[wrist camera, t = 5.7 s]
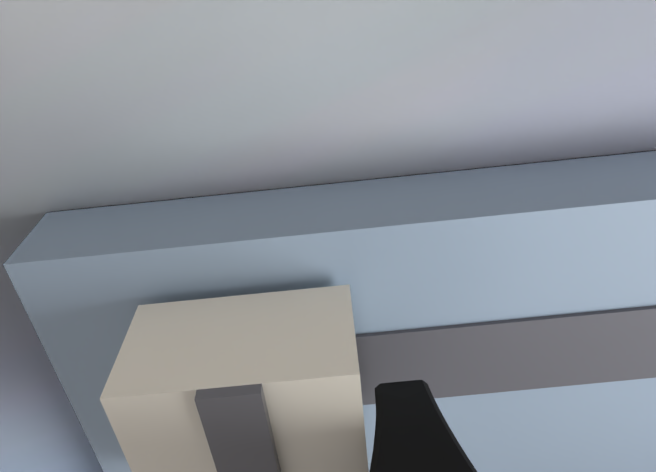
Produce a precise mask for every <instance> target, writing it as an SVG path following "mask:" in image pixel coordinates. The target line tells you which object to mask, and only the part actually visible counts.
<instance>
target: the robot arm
mask: <svg viewBox="0 0 656 472" xmlns="http://www.w3.org/2000/svg"><path fill="white" fill-rule="evenodd" d="M374 389H375V403H376V423H375V435H374V445H373V453H372V459H371V466H370V472H477V470H476V469H475V467H474V466H473V464H472V463H471V461H470V460H469V458H468V457H467V455H466V454H465V452H464V450H463V449H462V447H461V446H460V444H459V442H458V441H457V439H456V437H455V436H454V434H453V432H452V430H451V429H450V427H449V425H448V424H447V422H446V420H445V418H444V416H443V415H442V413H441V411H440V409H439V407H438V405H437V403H436V401H435V399H434V397H433V395H432V393H431V391H430V388H429V386H428V384H427V383H426V382H425V381H423V380H412V381H401V382H390V383H380V384H379V385H378V386H377V387H375V388H374Z"/></svg>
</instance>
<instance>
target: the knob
mask: <svg viewBox="0 0 656 472" xmlns="http://www.w3.org/2000/svg"><path fill="white" fill-rule="evenodd" d="M100 401H101V403H102V406H103V408H104V410H105V412H106V415H107V417H108V419H109V422H110V424H111V426H112V428H113V431H114V433H115V435H116V437H117V440H118V442H119V444H120V446H121V449H122V451H123V453H124V455H125V458H126V460H127V462H128V464H129V467H130V469H131V471H132V472H369V470H368V459H367V448H366V436H365V425H364V414H363V403H362V392H361V381H360V371H359V362H358V353H357V345H356V336H355V328H354V319H353V311H352V302H351V293H350V285H339V286H329V287H318V288H308V289H298V290H288V291H278V292H267V293H257V294H247V295H237V296H227V297H217V298H206V299H196V300H186V301H176V302H166V303H155V304H145V305H138V307H137V310H136V312H135V314H134V317H133V319H132V322H131V324H130V327H129V329H128V331H127V334H126V336H125V339H124V341H123V343H122V346H121V348H120V351H119V353H118V355H117V358H116V360H115V363H114V365H113V368H112V370H111V372H110V375H109V377H108V380H107V382H106V384H105V387H104V389H103V392H102V394H101V397H100Z"/></svg>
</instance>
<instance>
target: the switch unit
mask: <svg viewBox="0 0 656 472" xmlns="http://www.w3.org/2000/svg"><path fill="white" fill-rule="evenodd" d="M3 265H4V267H5V269H6V272H7V274H8V276H9V278H10V280H11V282H12V284H13V286H14V288H15V290H16V292H17V294H18V296H19V298H20V300H21V302H22V305H23V307H24V309H25V311H26V313H27V315H28V317H29V319H30V321H31V323H32V325H33V327H34V329H35V331H36V333H37V336H38V338H39V340H40V342H41V344H42V346H43V348H44V350H45V352H46V354H47V356H48V358H49V360H50V362H51V364H52V366H53V369H54V371H55V373H56V375H57V377H58V379H59V381H60V383H61V385H62V387H63V389H64V391H65V393H66V395H67V397H68V399H69V402H70V404H71V406H72V408H73V410H74V412H75V414H76V416H77V418H78V420H79V422H80V424H81V426H82V428H83V430H84V433H85V435H86V437H87V439H88V441H89V443H90V445H91V447H92V449H93V451H94V453H95V455H96V457H97V459H98V461H99V463H100V466H101V468H102V470H103V472H132V471H131V469H130V467H129V464H128V462H127V460H126V458H125V455H124V453H123V451H122V449H121V446H120V444H119V442H118V440H117V437H116V435H115V433H114V431H113V428H112V426H111V424H110V422H109V419H108V417H107V415H106V412H105V410H104V408H103V406H102V403H101V401H100V397H101V394H102V392H103V389H104V387H105V384H106V382H107V380H108V377H109V375H110V372H111V370H112V368H113V365H114V363H115V360H116V358H117V355H118V353H119V351H120V348H121V346H122V343H123V341H124V339H125V336H126V334H127V331H128V329H129V327H130V324H131V322H132V319H133V317H134V314H135V312H136V310H137V307H138V305H145V304H155V303H166V302H176V301H186V300H196V299H206V298H217V297H227V296H237V295H247V294H257V293H267V292H278V291H288V290H298V289H308V288H318V287H329V286H339V285H350V293H351V302H352V311H353V319H354V328H355V336H356V345H357V353H358V362H359V371H360V381H361V392H362V403H363V414H364V425H365V436H366V448H367V459H368V470H369V472H370V466H371V459H372V453H373V445H374V435H375V423H376V403H375V389H374V388H375V387H377V386H378V385H379V384H380V383H390V382H401V381H412V380H423V381H425V382H426V383H427V384H428V386H429V388H430V391H431V393H432V395H433V397H434V399H435V401H436V403H437V405H438V407H439V409H440V411H441V413H442V415H443V416H444V418H445V420H446V422H447V424H448V425H449V427H450V429H451V430H452V432H453V434H454V436H455V437H456V439H457V441H458V442H459V444H460V446H461V447H462V449H463V450H464V452H465V454H466V455H467V457H468V458H469V460H470V461H471V463H472V464H473V466H474V467H475V469H476V470H477V472H656V151H649V152H639V153H629V154H619V155H610V156H600V157H590V158H580V159H570V160H560V161H551V162H541V163H531V164H521V165H511V166H501V167H491V168H482V169H472V170H462V171H452V172H442V173H432V174H423V175H413V176H403V177H393V178H383V179H373V180H364V181H354V182H344V183H334V184H324V185H314V186H304V187H295V188H285V189H275V190H265V191H255V192H245V193H236V194H226V195H216V196H206V197H196V198H186V199H177V200H167V201H157V202H147V203H137V204H127V205H117V206H108V207H98V208H88V209H78V210H68V211H58V212H49V213H46V214H45V215H44V216H43V218H42V219H41V220H40V221H39V222H38V224H37V225H36V226H35V227H34V228H33V230H32V231H31V232H30V233H29V234H28V236H27V237H26V238H25V239H24V240H23V242H22V243H21V244H20V245H19V246H18V248H17V249H16V250H15V251H14V252H13V254H12V255H11V256H10V257H9V258H8V260H7V261H6V262H5V263H4V264H3Z"/></svg>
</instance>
